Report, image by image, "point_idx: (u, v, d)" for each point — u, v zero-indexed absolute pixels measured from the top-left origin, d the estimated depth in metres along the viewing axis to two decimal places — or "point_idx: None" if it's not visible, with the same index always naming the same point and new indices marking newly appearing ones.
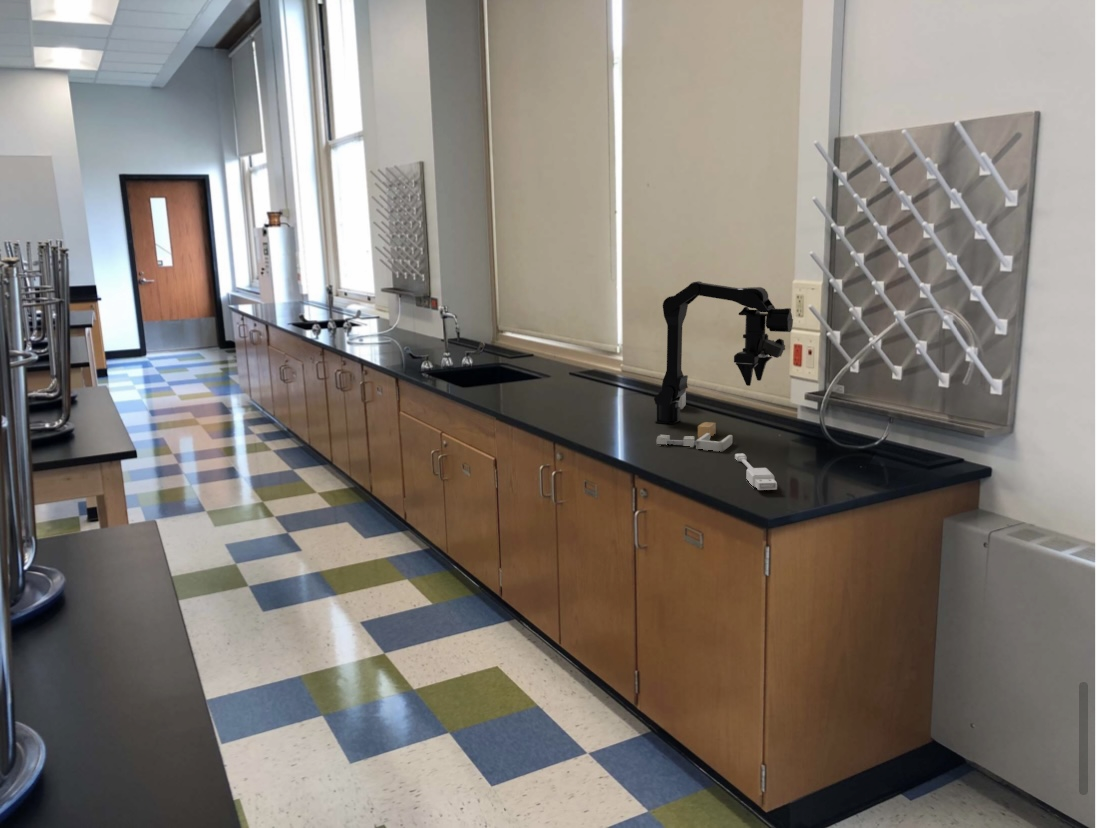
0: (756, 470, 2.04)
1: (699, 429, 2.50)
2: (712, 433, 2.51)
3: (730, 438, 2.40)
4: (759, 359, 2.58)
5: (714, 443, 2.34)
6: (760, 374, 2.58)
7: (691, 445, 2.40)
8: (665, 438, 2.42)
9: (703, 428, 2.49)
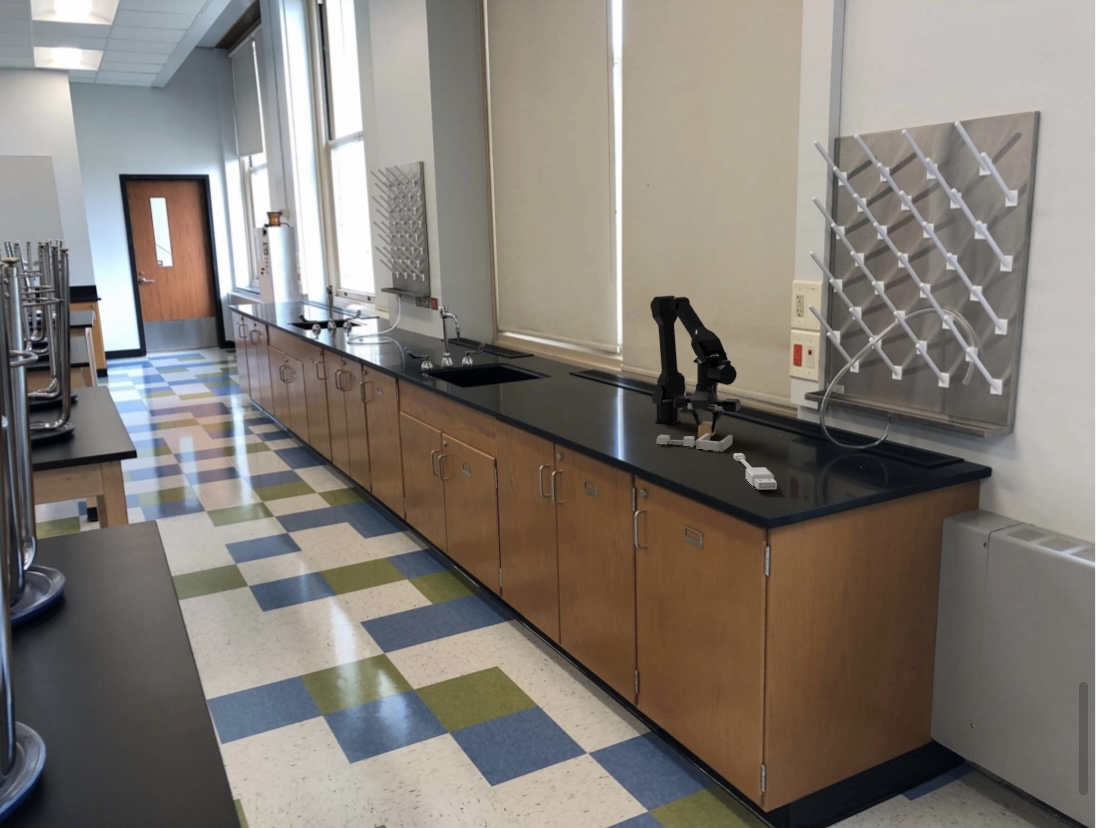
0: (755, 470, 2.05)
1: (699, 428, 2.50)
2: (712, 433, 2.51)
3: (730, 438, 2.40)
4: None
5: (714, 443, 2.34)
6: None
7: (691, 445, 2.40)
8: (665, 438, 2.42)
9: (703, 427, 2.49)
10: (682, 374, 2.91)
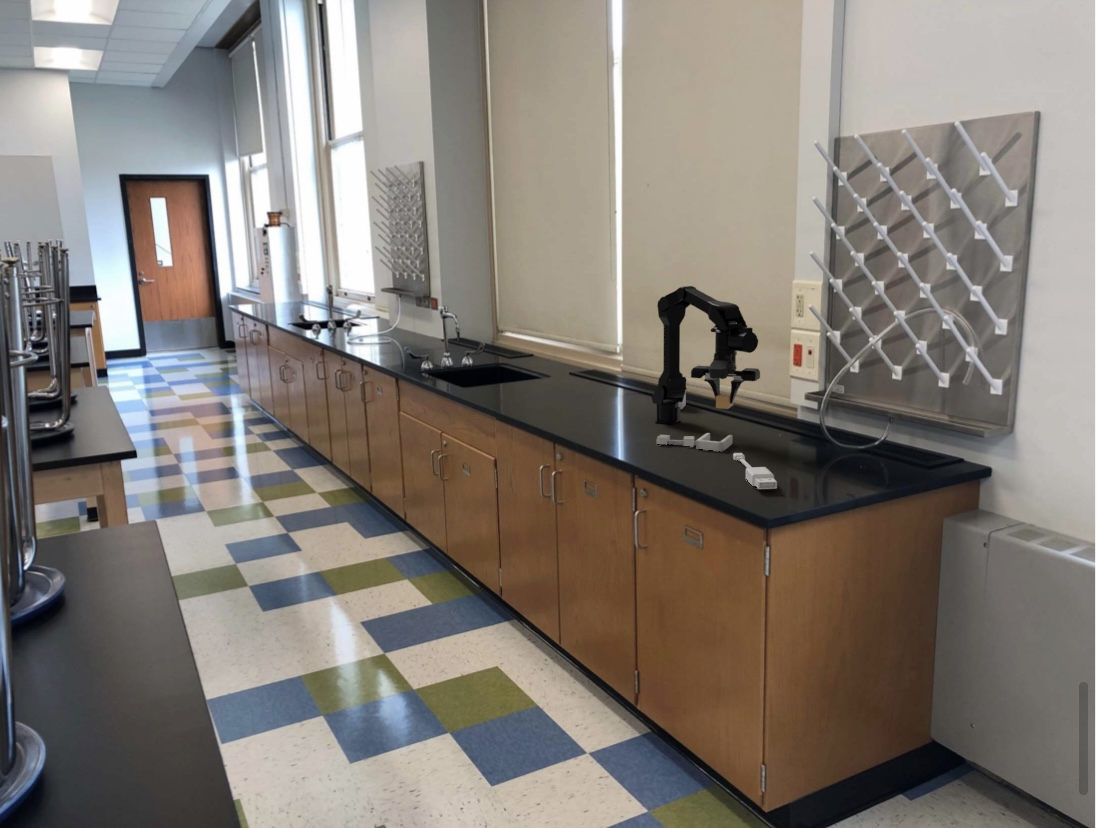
0: (755, 469, 2.05)
1: (717, 399, 2.43)
2: (730, 404, 2.45)
3: (730, 438, 2.40)
4: None
5: (714, 443, 2.34)
6: None
7: (691, 445, 2.40)
8: (665, 438, 2.42)
9: (722, 398, 2.43)
10: (682, 374, 2.91)
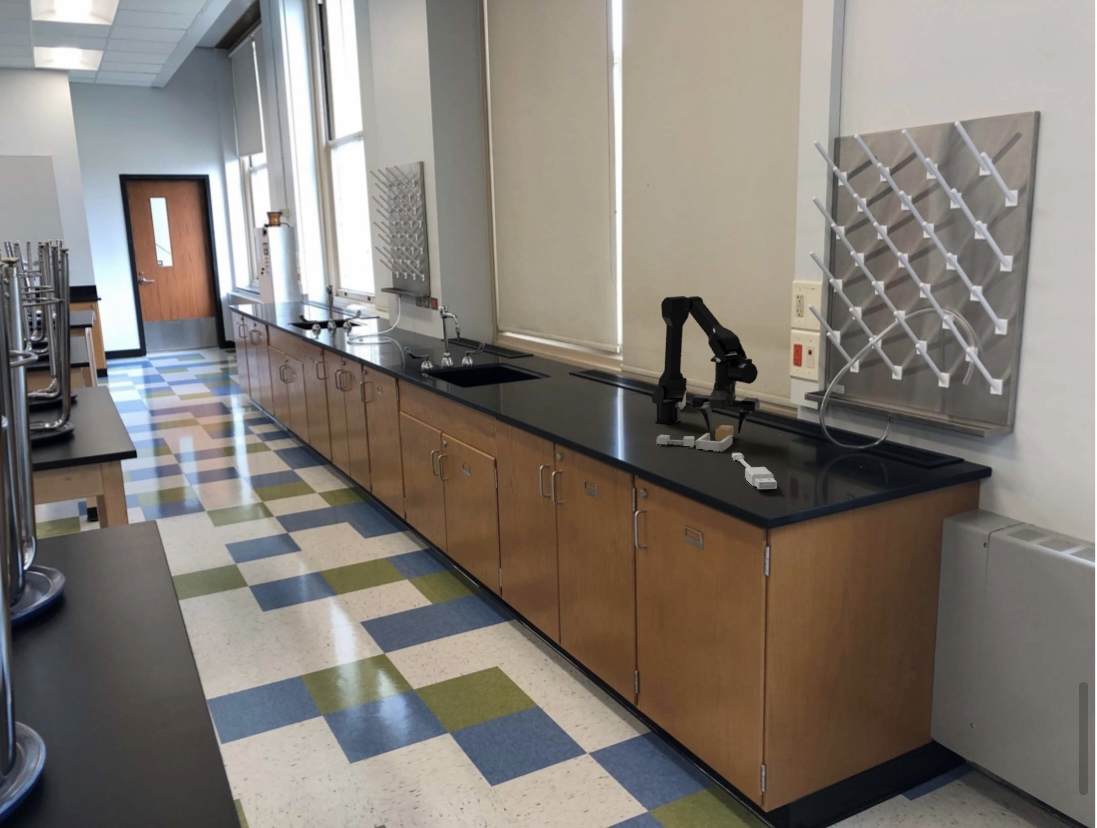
0: (755, 469, 2.05)
1: (717, 432, 2.46)
2: None
3: (730, 438, 2.40)
4: None
5: (714, 443, 2.34)
6: None
7: (691, 445, 2.40)
8: (665, 438, 2.42)
9: (721, 431, 2.45)
10: (682, 374, 2.91)
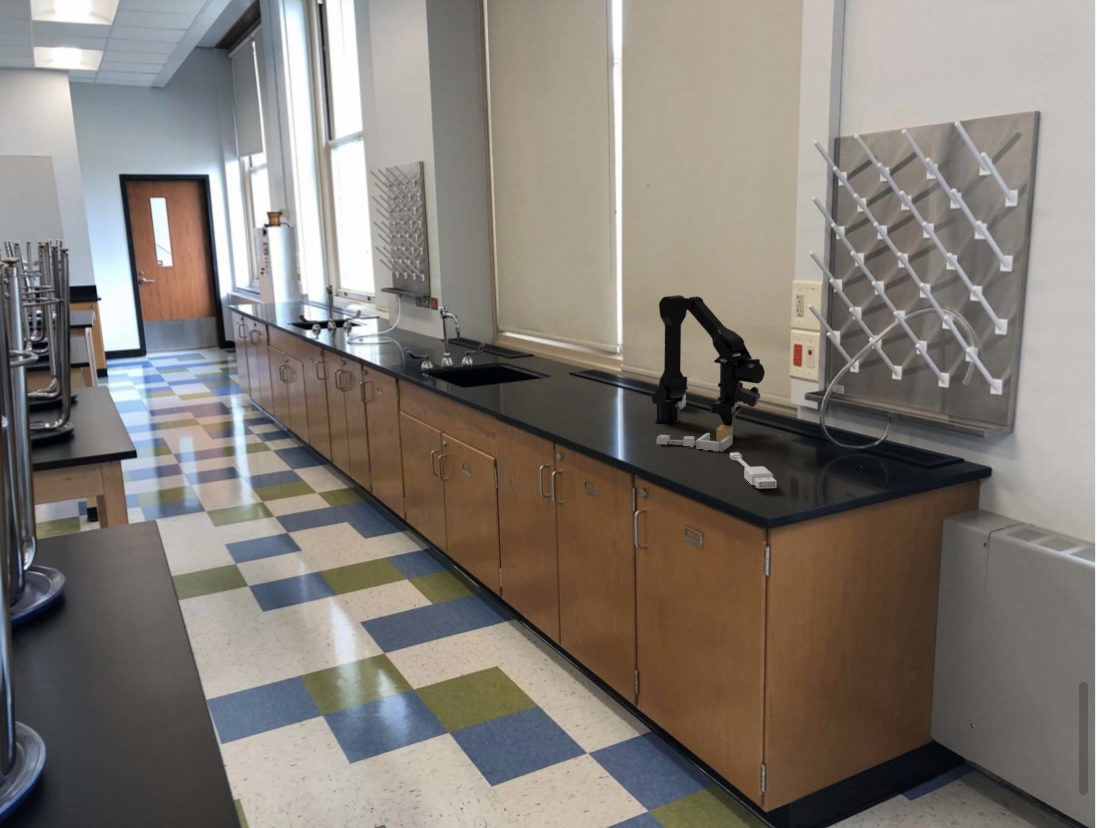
0: (754, 469, 2.05)
1: (718, 432, 2.45)
2: None
3: (730, 438, 2.40)
4: None
5: (714, 443, 2.34)
6: (730, 425, 2.51)
7: (691, 445, 2.40)
8: (665, 438, 2.42)
9: (722, 431, 2.45)
10: None
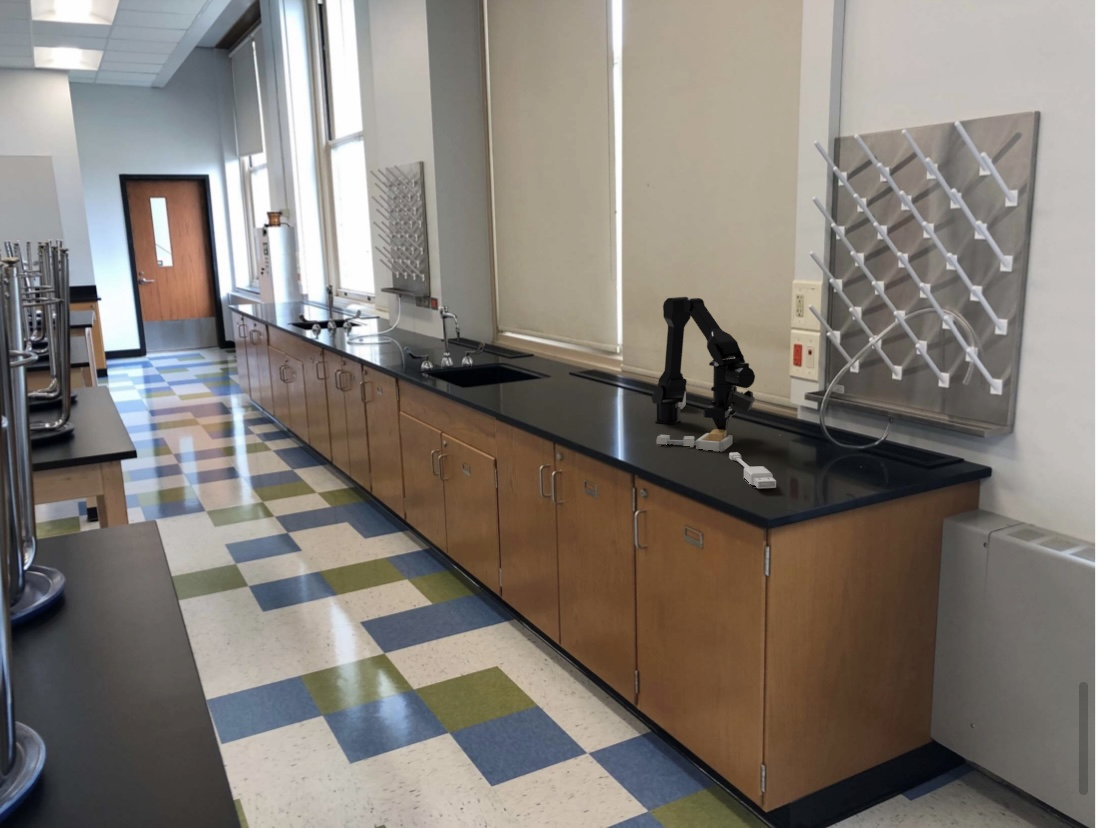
0: (754, 469, 2.06)
1: (710, 437, 2.40)
2: None
3: (730, 438, 2.40)
4: None
5: (714, 443, 2.34)
6: None
7: (691, 445, 2.40)
8: (665, 438, 2.42)
9: (715, 436, 2.39)
10: (682, 374, 2.91)
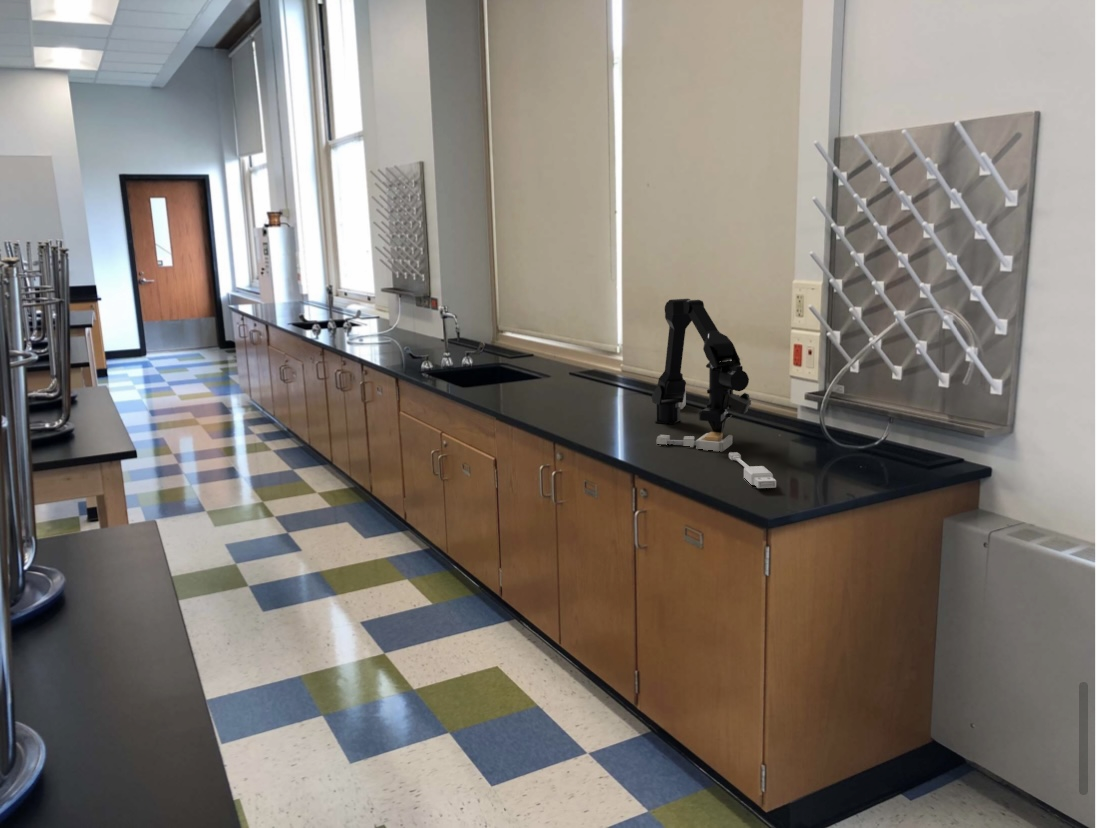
0: (754, 468, 2.06)
1: (706, 440, 2.37)
2: None
3: (730, 438, 2.40)
4: None
5: (714, 443, 2.34)
6: None
7: (691, 445, 2.40)
8: (665, 438, 2.42)
9: (711, 439, 2.36)
10: (682, 374, 2.91)
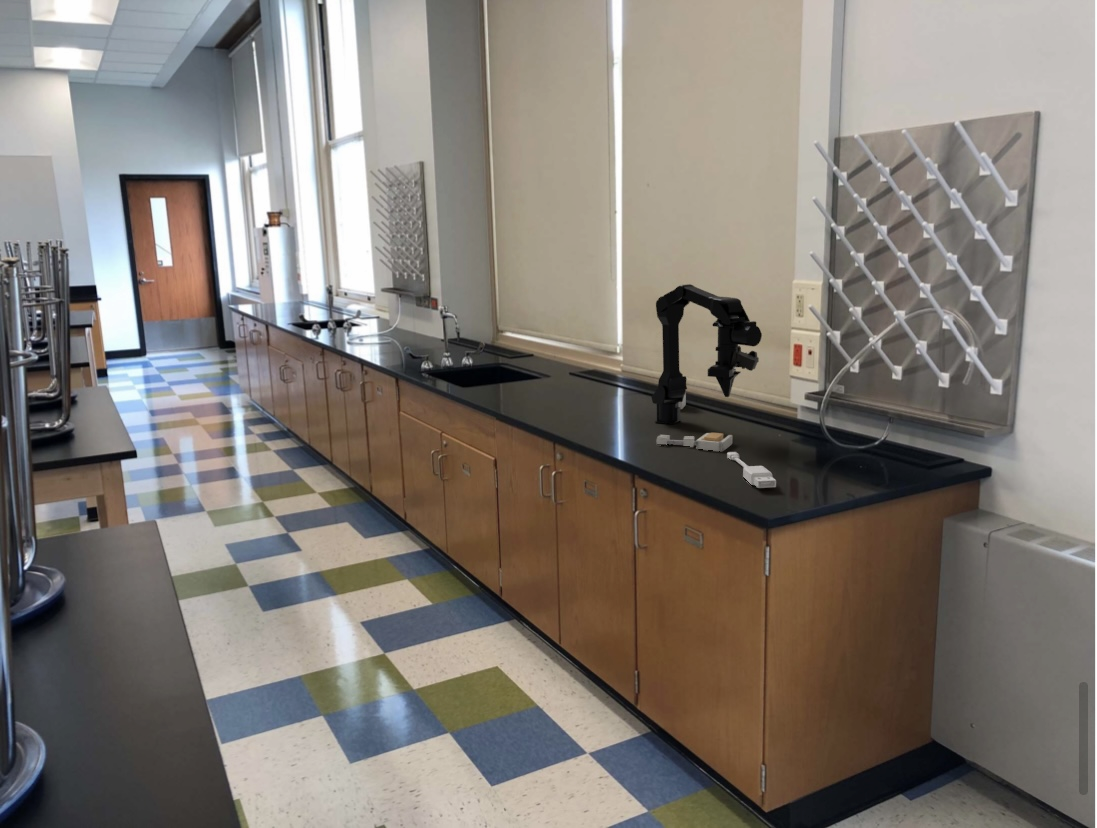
0: (753, 468, 2.06)
1: (706, 440, 2.37)
2: None
3: (730, 438, 2.40)
4: None
5: (714, 443, 2.34)
6: None
7: (691, 445, 2.40)
8: (665, 438, 2.42)
9: (710, 439, 2.36)
10: (682, 374, 2.91)
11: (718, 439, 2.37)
